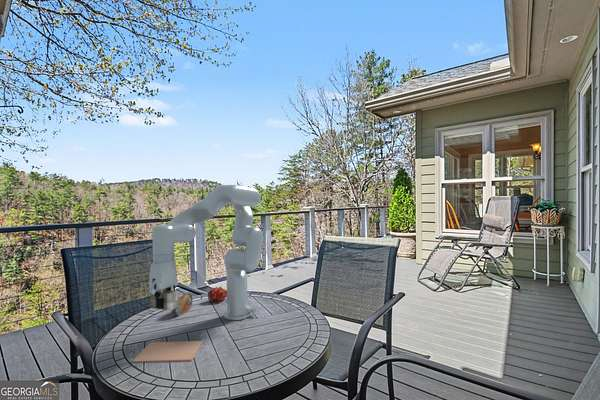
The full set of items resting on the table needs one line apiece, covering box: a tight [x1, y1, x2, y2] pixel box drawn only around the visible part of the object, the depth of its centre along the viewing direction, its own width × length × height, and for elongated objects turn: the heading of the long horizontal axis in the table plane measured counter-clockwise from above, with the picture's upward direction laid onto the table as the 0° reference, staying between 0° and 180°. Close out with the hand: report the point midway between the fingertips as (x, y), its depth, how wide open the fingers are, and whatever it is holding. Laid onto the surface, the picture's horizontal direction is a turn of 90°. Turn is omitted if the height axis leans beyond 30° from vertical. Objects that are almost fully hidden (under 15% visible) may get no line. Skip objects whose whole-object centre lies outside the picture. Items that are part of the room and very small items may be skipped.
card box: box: [150, 289, 179, 312], centre depth 121 cm, size 4×9×6 cm, turn 71°
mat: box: [132, 340, 204, 363], centre depth 116 cm, size 20×14×1 cm
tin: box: [171, 292, 193, 317], centre depth 156 cm, size 15×3×8 cm, turn 168°
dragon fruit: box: [207, 286, 227, 303], centre depth 172 cm, size 8×8×12 cm
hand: (164, 305), depth 121 cm, fingers closed on card box, 4 cm apart
